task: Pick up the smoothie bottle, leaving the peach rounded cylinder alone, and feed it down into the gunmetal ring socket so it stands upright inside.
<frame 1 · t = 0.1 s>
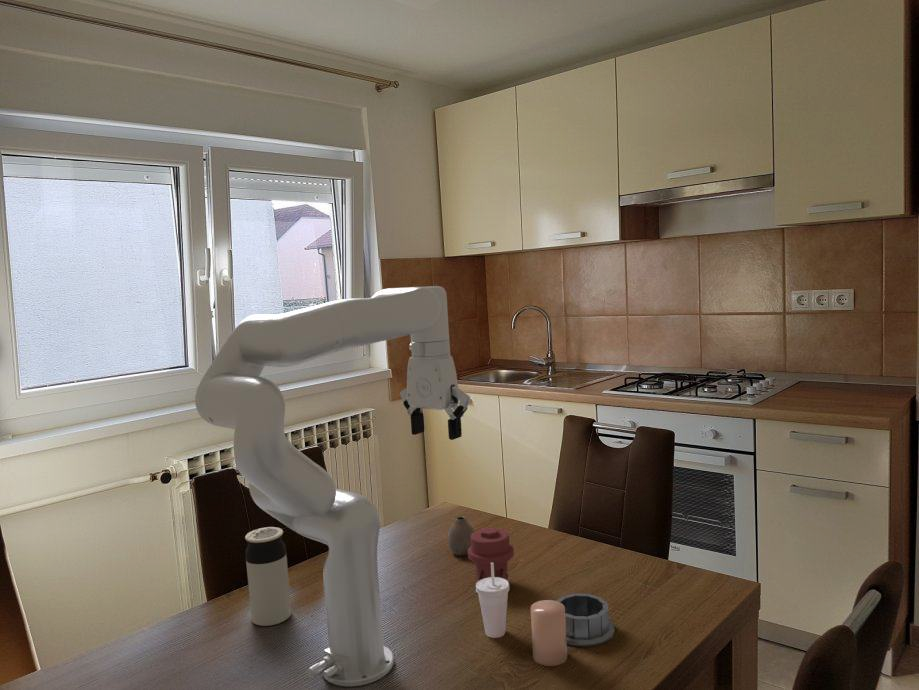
hand: (436, 435, 138), 37 cm above the table, tool pointing down, fingers open, 9 cm apart
travel mug: (271, 618, 144), on the table
peach rounded cylinder: (550, 656, 124), on the table
smoothie: (495, 633, 133), on the table
ring socket: (582, 630, 132), on the table
mechanical component: (492, 585, 153), on the table
vase: (462, 553, 172), on the table
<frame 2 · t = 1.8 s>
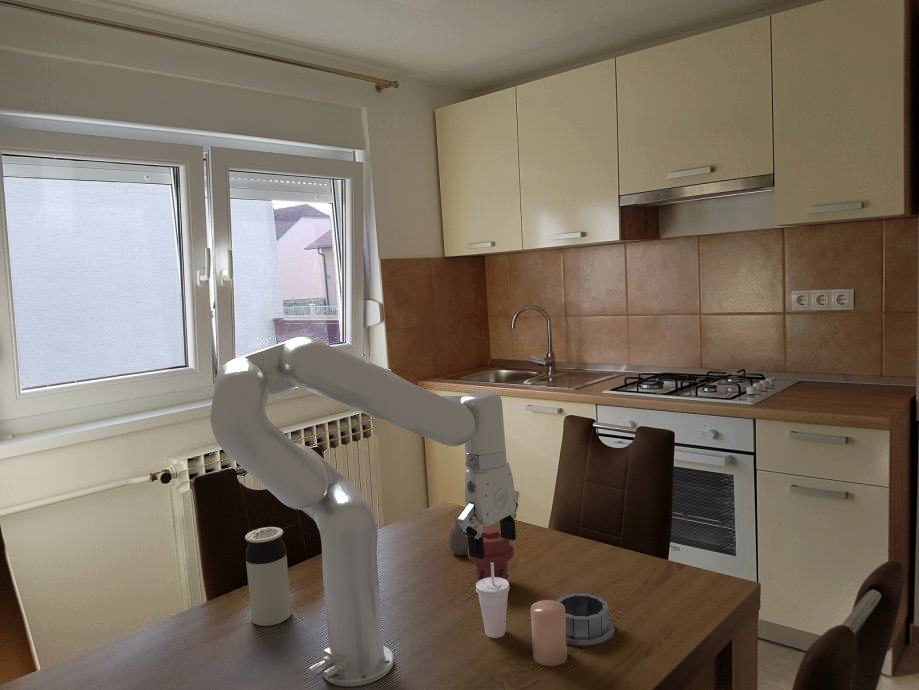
hand: (493, 547, 131), 17 cm above the table, tool pointing down, fingers open, 9 cm apart
nothing on the table moved.
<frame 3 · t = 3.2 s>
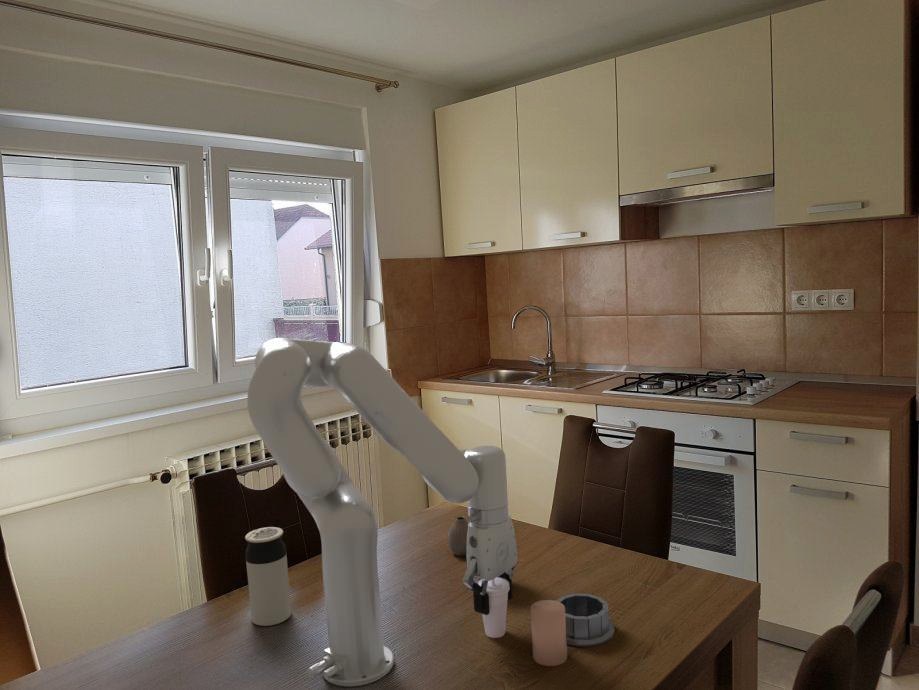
hand: (493, 604, 132), 6 cm above the table, tool pointing down, fingers closed on smoothie, 6 cm apart
smoothie: (495, 633, 133), on the table, touching gripper
everything else where it was.
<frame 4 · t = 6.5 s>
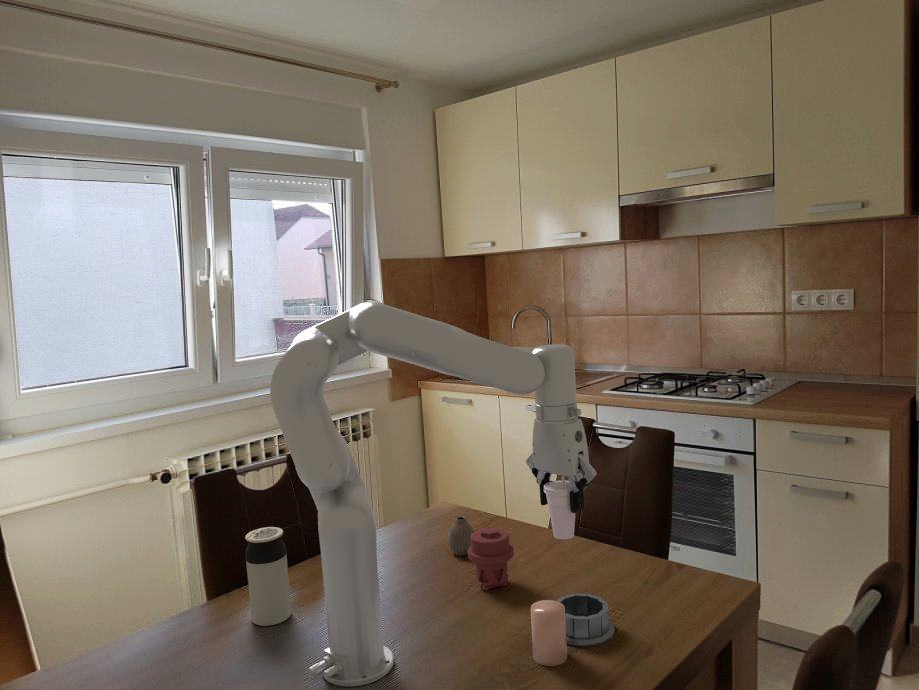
hand: (562, 506, 130), 24 cm above the table, tool pointing down, fingers closed on smoothie, 6 cm apart
smoothie: (564, 536, 130), point 18 cm above the table, touching gripper
everything else where it was.
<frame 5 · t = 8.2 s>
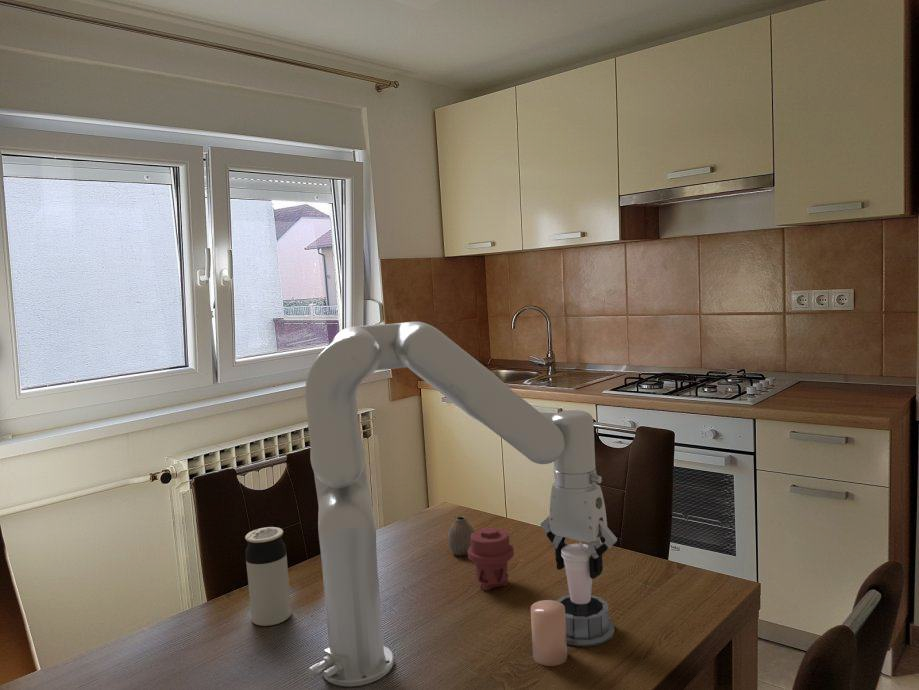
hand: (579, 570, 131), 12 cm above the table, tool pointing down, fingers closed on smoothie, 6 cm apart
smoothie: (580, 600, 131), point 6 cm above the table, touching gripper
everything else where it was.
when the fingers open (8 cm above the table, at t = 9.6 s): smoothie drops 1 cm, resting on ring socket.
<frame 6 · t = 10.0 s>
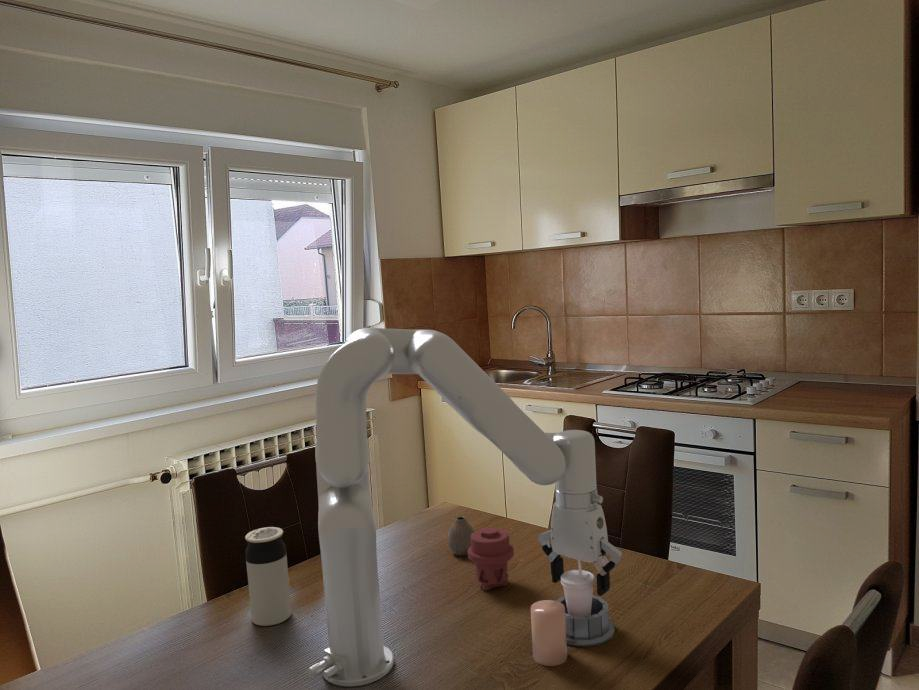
hand: (580, 586, 131), 9 cm above the table, tool pointing down, fingers open, 9 cm apart
smoothie: (580, 626, 132), point 1 cm above the table, touching ring socket
everything else where it was.
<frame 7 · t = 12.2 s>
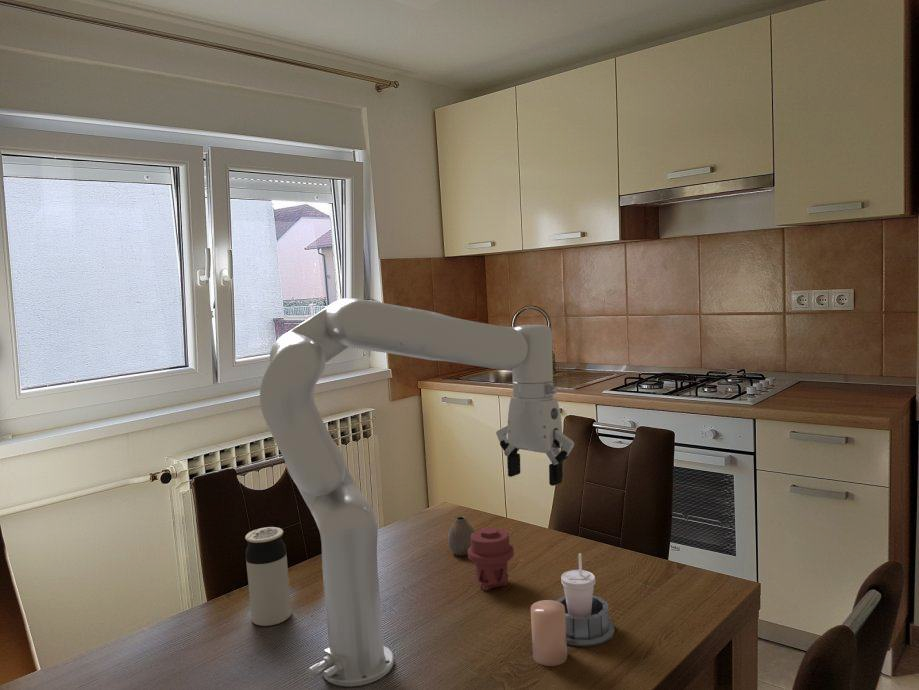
hand: (534, 479, 133), 28 cm above the table, tool pointing down, fingers open, 9 cm apart
nothing on the table moved.
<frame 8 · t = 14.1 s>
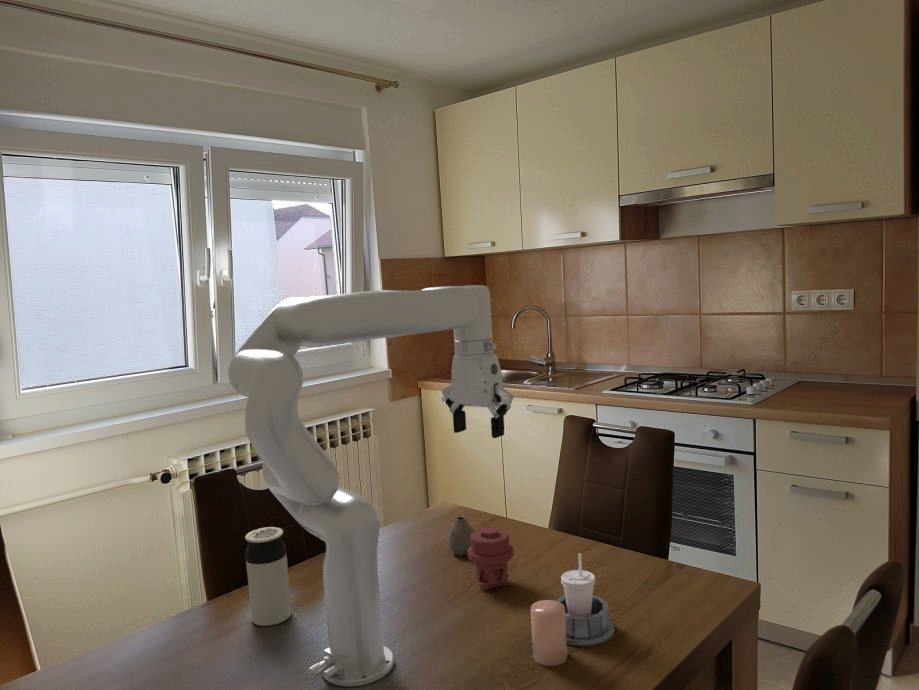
hand: (478, 433, 139), 36 cm above the table, tool pointing down, fingers open, 9 cm apart
nothing on the table moved.
at the end: smoothie 0.4 cm off-centre on the ring socket, point 0.6 cm above the ring socket's base; smoothie tilted 0°; the gripper is holding nothing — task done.
